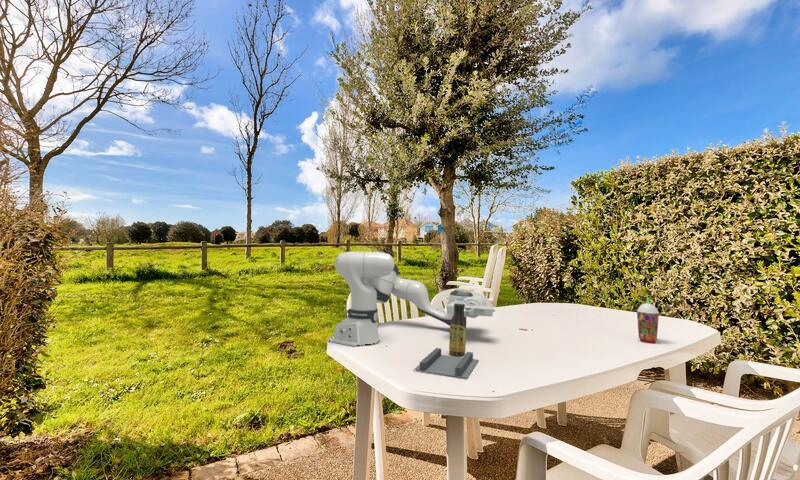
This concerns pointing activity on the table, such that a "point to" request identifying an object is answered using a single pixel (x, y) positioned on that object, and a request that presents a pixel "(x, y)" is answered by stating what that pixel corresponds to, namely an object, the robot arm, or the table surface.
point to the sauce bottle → (458, 331)
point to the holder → (448, 364)
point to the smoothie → (647, 322)
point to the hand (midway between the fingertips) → (466, 312)
